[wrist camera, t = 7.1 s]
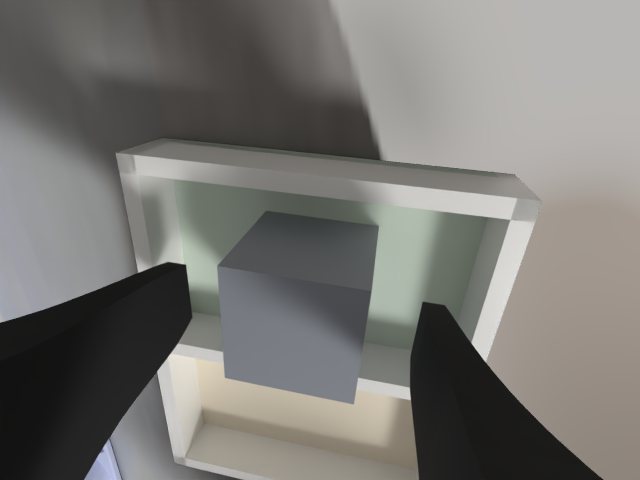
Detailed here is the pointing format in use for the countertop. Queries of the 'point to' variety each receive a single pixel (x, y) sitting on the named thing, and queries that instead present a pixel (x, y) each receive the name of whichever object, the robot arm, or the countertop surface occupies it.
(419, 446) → the robot arm
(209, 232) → the two-bin tray
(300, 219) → the slate block
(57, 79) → the countertop surface
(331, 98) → the countertop surface
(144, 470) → the countertop surface
